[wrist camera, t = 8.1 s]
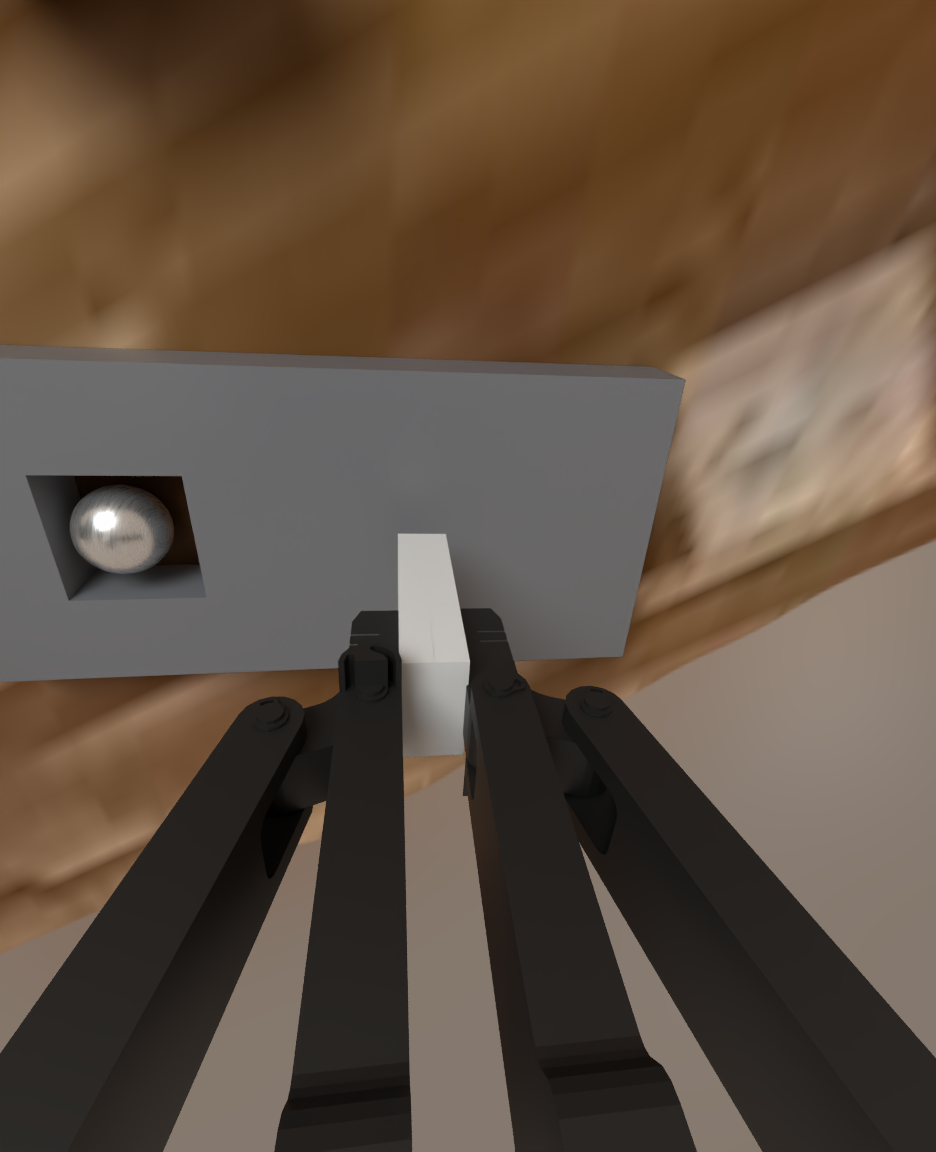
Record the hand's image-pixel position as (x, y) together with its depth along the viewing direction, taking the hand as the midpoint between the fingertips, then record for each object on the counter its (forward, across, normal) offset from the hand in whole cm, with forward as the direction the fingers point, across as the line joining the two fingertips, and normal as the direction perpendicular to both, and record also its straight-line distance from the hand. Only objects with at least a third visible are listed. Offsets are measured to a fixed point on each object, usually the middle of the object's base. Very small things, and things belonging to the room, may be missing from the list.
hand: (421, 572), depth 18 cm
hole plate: (+4, -4, 0) cm, 6 cm away
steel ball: (+3, -10, 0) cm, 10 cm away
